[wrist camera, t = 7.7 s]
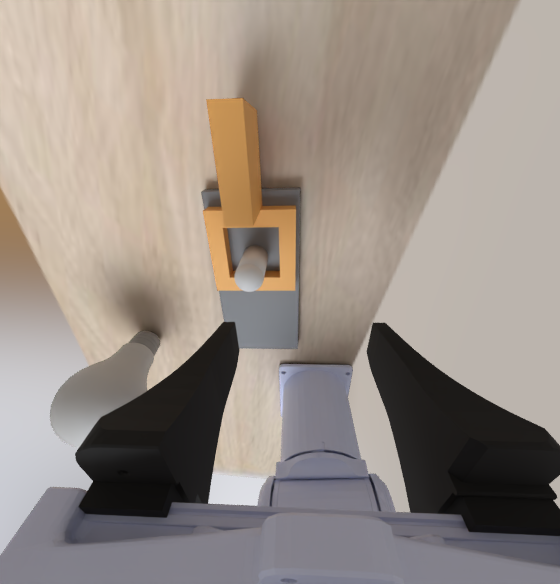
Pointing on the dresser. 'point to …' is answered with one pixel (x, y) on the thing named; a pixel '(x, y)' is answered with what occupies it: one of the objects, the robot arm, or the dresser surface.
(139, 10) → the dresser surface
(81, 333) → the dresser surface
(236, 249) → the keeper board
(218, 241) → the orange loop handle block
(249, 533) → the robot arm
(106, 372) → the lightbulb
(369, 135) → the dresser surface
